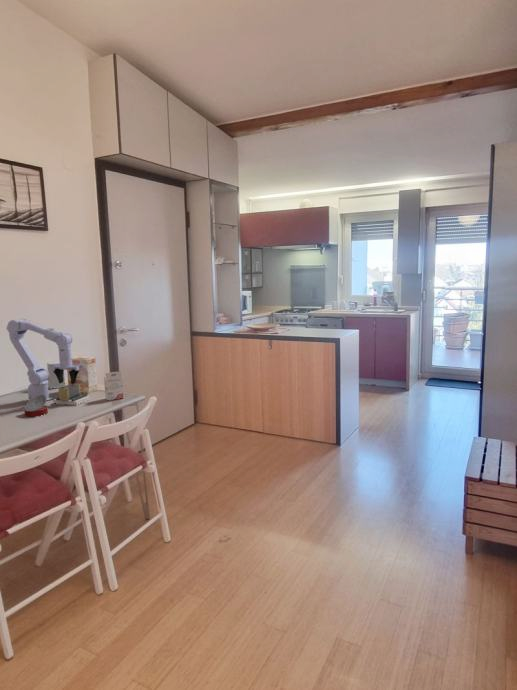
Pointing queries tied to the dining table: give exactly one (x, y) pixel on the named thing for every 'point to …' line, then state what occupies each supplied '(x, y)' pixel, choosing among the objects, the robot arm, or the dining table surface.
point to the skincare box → (54, 377)
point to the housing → (69, 392)
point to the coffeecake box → (85, 373)
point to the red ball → (36, 407)
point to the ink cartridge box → (113, 386)
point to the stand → (73, 400)
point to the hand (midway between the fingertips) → (67, 383)
